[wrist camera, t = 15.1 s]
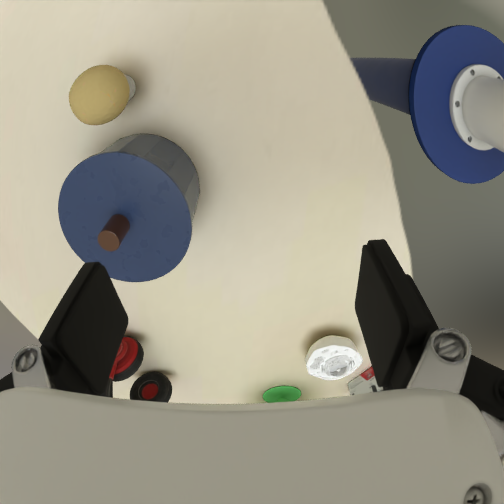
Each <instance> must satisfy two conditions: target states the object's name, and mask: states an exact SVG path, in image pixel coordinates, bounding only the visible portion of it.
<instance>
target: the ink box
mask: <svg viewBox="0 0 504 504" xmlns="http://www.w3.org/2000/svg"><path fill="white" fill-rule="evenodd" d="M348 387H349V391H350V395H358V394H365V393H371V392H380V391H383V387H378V385H377V382H376V379H375V375H374V371H373V368H372V367H371V368H369V369H368V370H367V371H365V372H364V373H362V374H361V375H359V376H358V377H357V378H355V379H354V380H352V381H351V382H349V383H348Z"/></svg>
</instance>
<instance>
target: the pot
mask: <svg viewBox="0 0 504 504" xmlns="http://www.w3.org/2000/svg"><path fill="white" fill-rule="evenodd" d="M109 151H121V152H129V153H133V154H137V155H140V156H142V157H144V158H147V159H149V160H151V161H152V162H154V163H156V164H157V165H159V166H160V167H161V168H163V169H164V170H165V171H166V172H167V173H168V174H169V175H170V176H171V177H172V178H173V179H174V180H175V182H176V183H177V184H178V185H179V187H180V189H181V190H182V192H183V193H184V195H185V198H186V200H187V202H188V205H189V208H190V212H191V218H192V220H193V217H194V214H195V211H196V206H197V202H198V198H199V193H200V188H199V179H198V175H197V172H196V169H195V167H194V165H193V163H192V161H191V159H190V158H189V157H188V155H187V154H186V153H185V152H184V151H183V150H182V149H181V148H180V147H179V146H177V145H176V144H175V143H173V142H172V141H170V140H168V139H166V138H163V137H161V136H157V135H153V134H136V135H131V136H128V137H125V138H121V139H119V140H118V141H116V142H115V143H113V144H112V145H111V146H109V147H108V148H106V149H105V150H104V151H102V152H101V153H103V152H109Z"/></svg>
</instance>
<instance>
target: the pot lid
mask: <svg viewBox="0 0 504 504" xmlns="http://www.w3.org/2000/svg"><path fill="white" fill-rule="evenodd" d="M58 212H59V220H60V224H61V228H62V231H63V233H64V236H65V238H66V240H67V242H68V243H69V245H70V246H71V248H72V249H73V250H74V252H75V253H76V254H77V255H78V256H79V257H80V258H81V260H82V261H84V262H85V263H87V262H100V263H101V264H102V265H104V266H105V268H106V270H107V272H108V274H109V277H110V278H113V279H117V280H121V281H127V282H144V281H150V280H153V279H157V278H159V277H161V276H164V275H165V274H167V273H169V272H170V271H171V270H173V269H174V268H175V267H176V266H177V265H178V264H179V263H180V262H181V260H182V259H183V257H184V256H185V254H186V252H187V249H188V247H189V244H190V240H191V235H192V218H191V212H190V208H189V205H188V202H187V200H186V198H185V195H184V193H183V192H182V190H181V189H180V187H179V185H178V184H177V183H176V182H175V180H174V179H173V178H172V177H171V176H170V175H169V174H168V173H167V172H166V171H165V170H164V169H163V168H161V167H160V166H159V165H157V164H156V163H154V162H152V161H151V160H149V159H147V158H144V157H142V156H140V155H137V154H133V153H129V152H121V151H109V152H103V153H99V154H96V155H93V156H91V157H89V158H87V159H85V160H84V161H82V162H81V163H80V164H78V165H77V166H76V167H75V168H74V169H73V170H72V171H71V172H70V173H69V175H68V176H67V178H66V179H65V181H64V184H63V186H62V188H61V192H60V196H59V202H58Z"/></svg>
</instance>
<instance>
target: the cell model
mask: <svg viewBox="0 0 504 504" xmlns="http://www.w3.org/2000/svg"><path fill="white" fill-rule="evenodd" d="M362 361H363V359H362V357H361V355H360V353H359V352H358V350H357V347H356V346H355V344H354V343H353V342H352V341H351V340H350V339H349V338H346V337H340V336H333V335H330V336H326V337H323V338H321V339H319V340H317V341H316V342H315V343H314V344H313V345H312V346H311V347H310V349H309V351H308V353H307V355H306V357H305V362H306V367H307V370H308V373H309V374H310V375H312V376H315V377H319V378H321V379H323V380H337V379H340V378H343V377H345V376H347V375H349V374H351V373H353V372H354V371H355V370H356V369H357V368H358V367H359V366H360V365H361V363H362Z"/></svg>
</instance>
